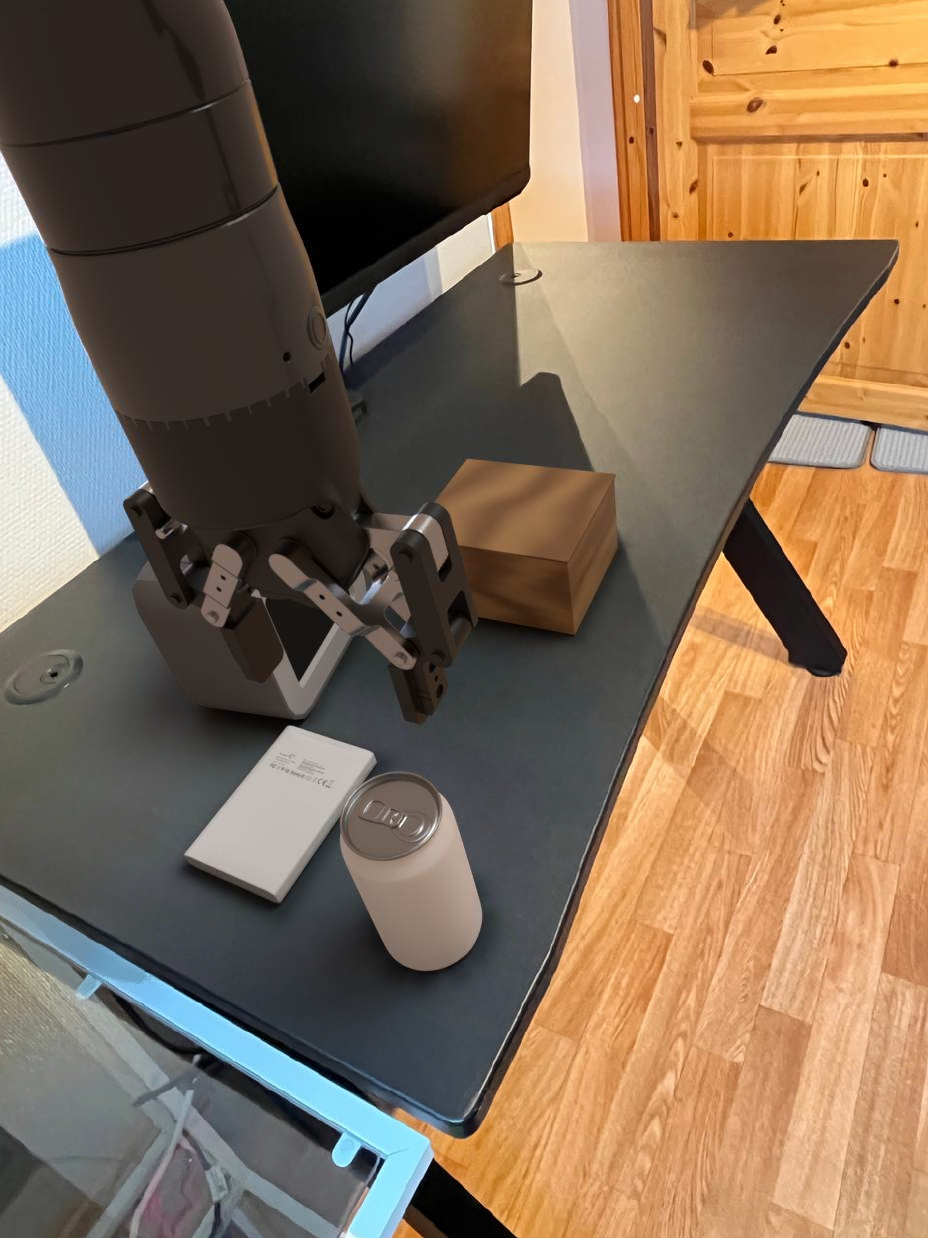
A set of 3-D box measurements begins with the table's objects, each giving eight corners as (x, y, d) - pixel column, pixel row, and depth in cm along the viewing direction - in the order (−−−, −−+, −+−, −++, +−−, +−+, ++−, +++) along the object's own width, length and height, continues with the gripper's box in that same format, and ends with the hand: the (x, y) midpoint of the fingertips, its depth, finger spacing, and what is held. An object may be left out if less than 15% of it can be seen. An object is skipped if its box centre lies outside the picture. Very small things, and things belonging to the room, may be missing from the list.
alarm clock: (298, 735, 67) (230, 586, 56) (180, 717, 70) (95, 574, 60) (374, 599, 78) (329, 453, 67) (269, 590, 81) (210, 451, 71)
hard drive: (190, 866, 59) (292, 735, 67) (281, 907, 56) (378, 764, 63) (181, 853, 58) (286, 722, 66) (273, 894, 55) (373, 750, 62)
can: (450, 993, 49) (408, 886, 42) (362, 947, 52) (307, 840, 45) (502, 900, 53) (472, 787, 45) (417, 863, 56) (375, 750, 48)
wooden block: (619, 547, 77) (615, 473, 72) (575, 636, 70) (568, 561, 64) (480, 528, 83) (467, 458, 78) (425, 608, 76) (407, 537, 70)
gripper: (-14, 396, 28) (173, 714, 39) (341, 431, 22) (446, 794, 33) (134, 302, 33) (264, 609, 44) (458, 311, 27) (517, 662, 38)
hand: (343, 688), depth 38 cm, fingers open, 8 cm apart
